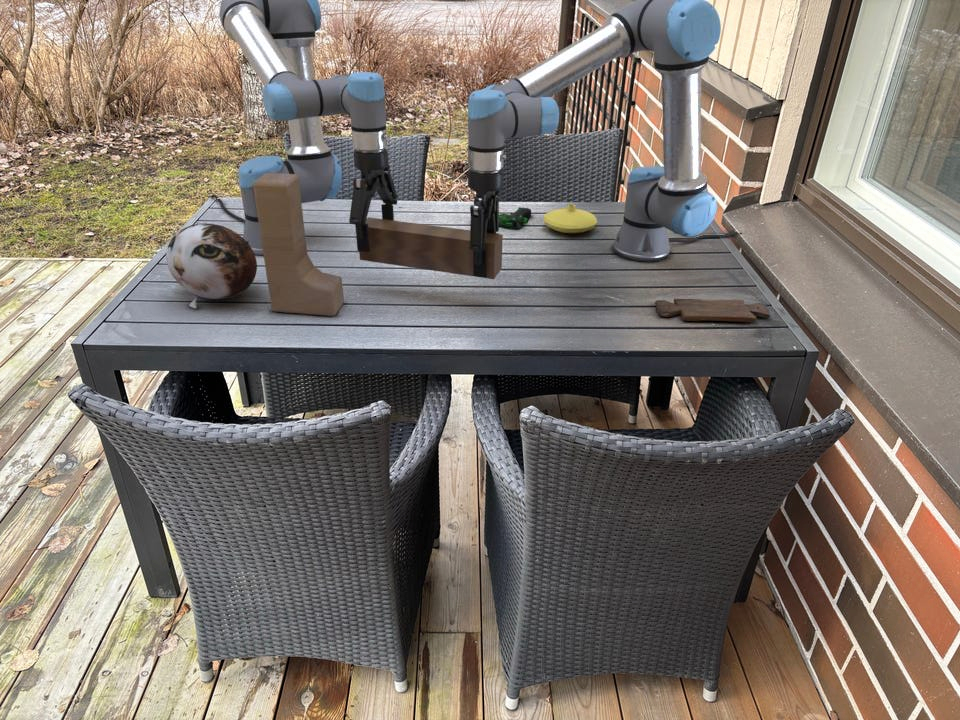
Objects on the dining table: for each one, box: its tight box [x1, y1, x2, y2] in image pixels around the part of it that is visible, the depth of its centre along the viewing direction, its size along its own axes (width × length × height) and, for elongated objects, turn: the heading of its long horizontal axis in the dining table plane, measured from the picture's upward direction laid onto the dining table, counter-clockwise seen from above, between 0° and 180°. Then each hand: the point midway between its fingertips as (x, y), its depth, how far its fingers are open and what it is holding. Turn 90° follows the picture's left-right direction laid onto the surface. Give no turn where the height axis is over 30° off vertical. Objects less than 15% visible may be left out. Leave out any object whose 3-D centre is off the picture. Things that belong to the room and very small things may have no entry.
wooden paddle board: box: [654, 298, 771, 323], centre depth 165 cm, size 26×2×10 cm
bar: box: [358, 216, 504, 280], centre depth 163 cm, size 33×6×8 cm, turn 72°
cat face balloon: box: [165, 222, 258, 309], centre depth 165 cm, size 22×18×20 cm
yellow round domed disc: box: [543, 203, 598, 234], centre depth 209 cm, size 16×16×7 cm
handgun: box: [499, 206, 532, 230], centre depth 216 cm, size 16×3×15 cm
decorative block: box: [253, 173, 345, 317], centre depth 157 cm, size 8×15×30 cm, turn 82°
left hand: (376, 241), depth 167 cm, fingers open, 13 cm apart
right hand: (484, 270), depth 162 cm, fingers closed on bar, 6 cm apart
